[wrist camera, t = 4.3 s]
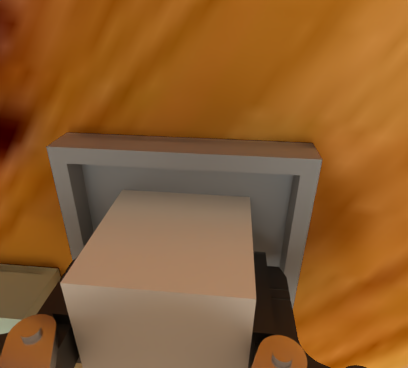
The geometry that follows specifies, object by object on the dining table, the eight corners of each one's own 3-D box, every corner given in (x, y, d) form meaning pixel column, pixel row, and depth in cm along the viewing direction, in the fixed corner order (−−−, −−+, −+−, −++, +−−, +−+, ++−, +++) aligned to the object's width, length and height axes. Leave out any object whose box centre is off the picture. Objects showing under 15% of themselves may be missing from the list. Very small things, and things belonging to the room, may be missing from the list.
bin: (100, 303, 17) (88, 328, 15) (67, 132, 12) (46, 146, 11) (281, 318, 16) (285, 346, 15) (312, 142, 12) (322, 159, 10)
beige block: (133, 283, 15) (90, 395, 11) (122, 189, 13) (60, 283, 8) (241, 292, 15) (242, 412, 10) (249, 197, 12) (256, 299, 8)
